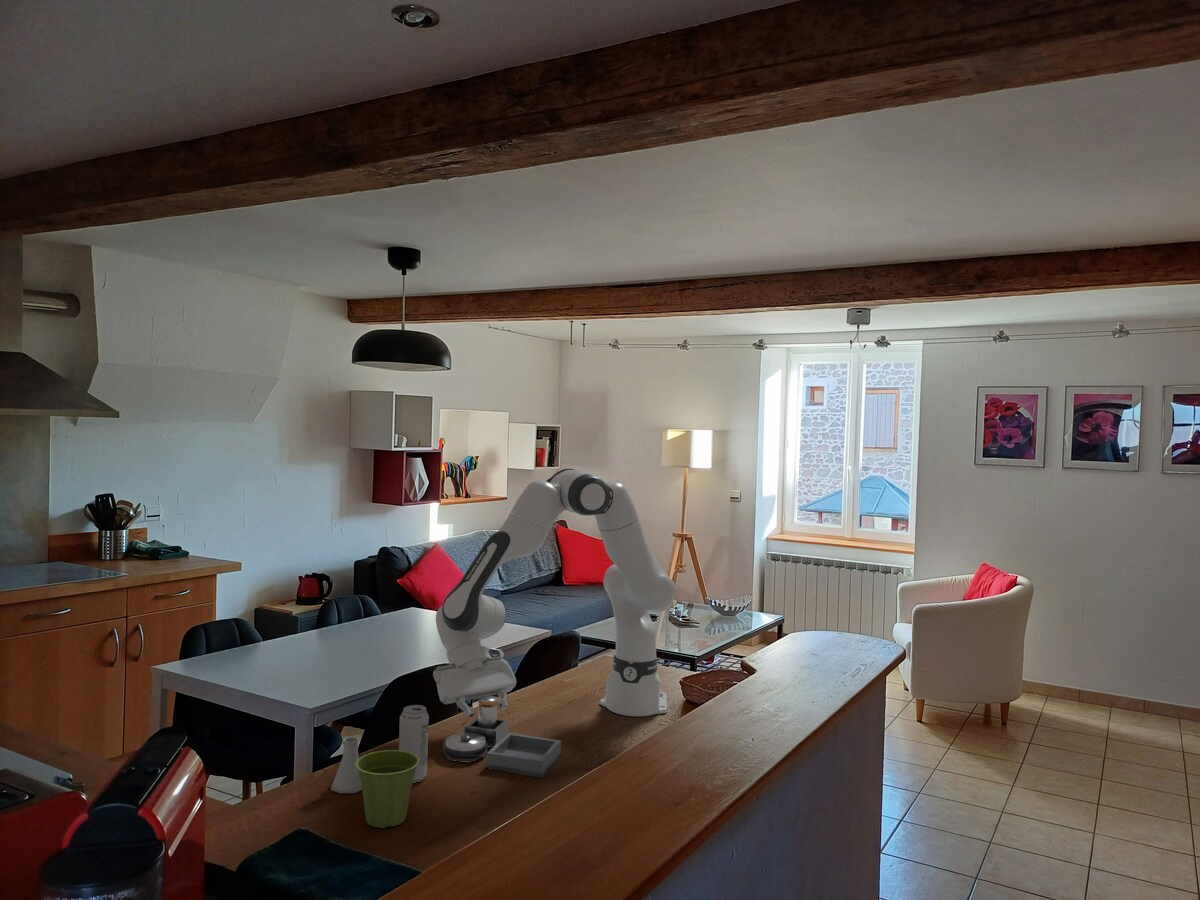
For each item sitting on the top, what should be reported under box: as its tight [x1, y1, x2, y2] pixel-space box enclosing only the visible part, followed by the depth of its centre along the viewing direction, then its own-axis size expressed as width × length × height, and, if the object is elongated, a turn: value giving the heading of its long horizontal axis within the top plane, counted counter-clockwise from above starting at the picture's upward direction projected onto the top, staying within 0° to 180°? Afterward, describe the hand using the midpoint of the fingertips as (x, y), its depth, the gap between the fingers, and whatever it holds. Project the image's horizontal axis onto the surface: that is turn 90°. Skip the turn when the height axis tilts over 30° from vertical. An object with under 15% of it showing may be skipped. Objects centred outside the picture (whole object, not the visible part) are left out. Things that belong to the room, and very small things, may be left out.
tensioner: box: [442, 716, 510, 761], centre depth 193 cm, size 19×10×4 cm, turn 165°
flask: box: [330, 736, 362, 794], centre depth 170 cm, size 7×7×10 cm
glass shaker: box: [477, 695, 499, 730], centre depth 198 cm, size 4×4×10 cm
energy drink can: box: [398, 704, 430, 784], centre depth 175 cm, size 6×6×15 cm
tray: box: [485, 732, 562, 778], centre depth 186 cm, size 13×13×4 cm
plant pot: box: [355, 749, 420, 829], centre depth 156 cm, size 12×12×11 cm
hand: (487, 712), depth 198 cm, fingers open, 8 cm apart
